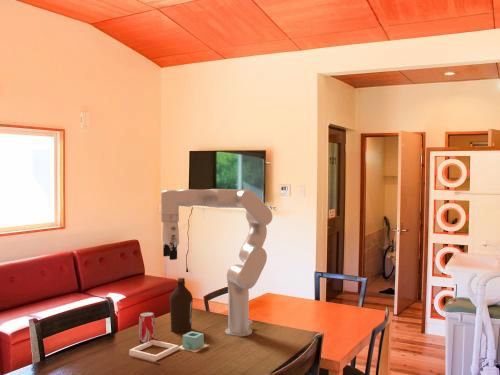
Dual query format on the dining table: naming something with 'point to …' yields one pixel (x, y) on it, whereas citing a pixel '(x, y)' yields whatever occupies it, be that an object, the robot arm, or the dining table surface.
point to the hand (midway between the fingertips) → (170, 257)
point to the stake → (196, 349)
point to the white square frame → (151, 357)
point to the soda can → (146, 327)
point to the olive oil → (181, 308)
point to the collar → (192, 340)
